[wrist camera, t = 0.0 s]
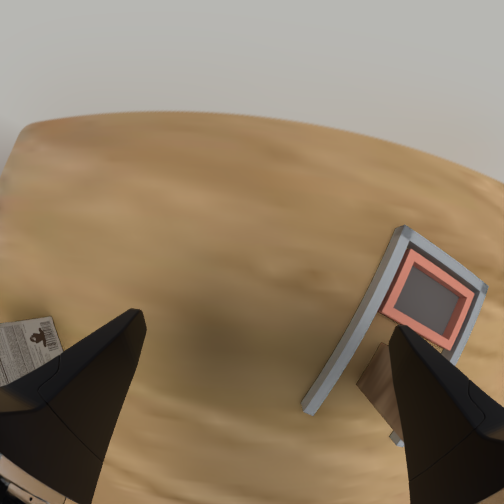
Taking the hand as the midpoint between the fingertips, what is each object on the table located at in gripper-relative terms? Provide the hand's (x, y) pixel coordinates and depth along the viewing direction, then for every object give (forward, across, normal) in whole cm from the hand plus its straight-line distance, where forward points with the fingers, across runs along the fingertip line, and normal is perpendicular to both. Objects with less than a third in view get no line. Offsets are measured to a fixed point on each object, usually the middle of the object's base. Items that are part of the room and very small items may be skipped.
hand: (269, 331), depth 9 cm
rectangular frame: (+13, -15, +8) cm, 21 cm away
